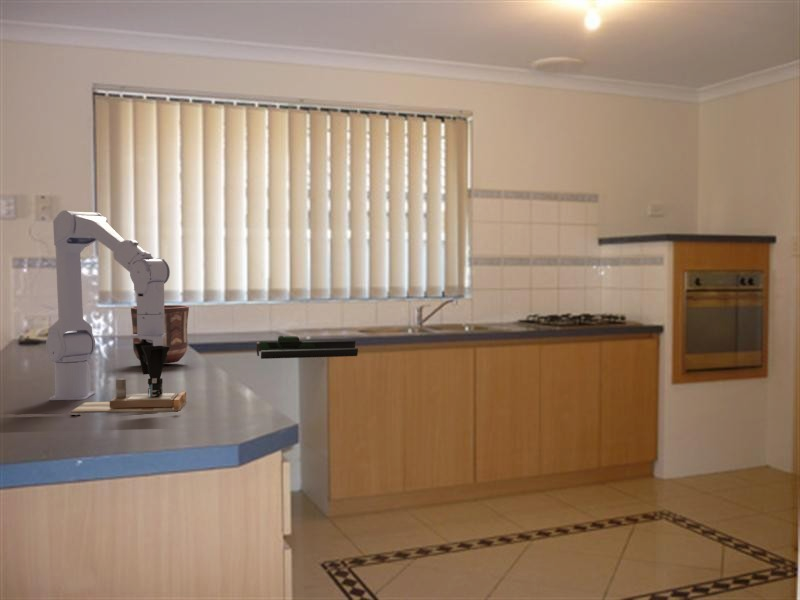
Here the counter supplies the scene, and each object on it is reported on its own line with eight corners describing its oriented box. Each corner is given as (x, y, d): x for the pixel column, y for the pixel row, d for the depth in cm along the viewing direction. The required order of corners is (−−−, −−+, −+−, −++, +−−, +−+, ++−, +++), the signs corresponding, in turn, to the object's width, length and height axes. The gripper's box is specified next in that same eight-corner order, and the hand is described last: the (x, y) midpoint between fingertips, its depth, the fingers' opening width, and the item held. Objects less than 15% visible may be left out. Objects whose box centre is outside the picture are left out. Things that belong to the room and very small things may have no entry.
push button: (165, 398, 170) (165, 352, 169) (140, 399, 169) (139, 352, 168) (169, 393, 176) (168, 348, 176) (144, 393, 175) (143, 349, 175)
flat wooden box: (85, 406, 176) (85, 393, 176) (186, 404, 179) (186, 391, 179) (70, 416, 165) (70, 401, 165) (178, 413, 168) (178, 399, 168)
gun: (360, 362, 271) (362, 343, 268) (257, 365, 263) (257, 345, 259) (357, 352, 277) (359, 333, 273) (256, 355, 269) (256, 335, 265)
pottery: (172, 365, 246) (171, 308, 245) (121, 364, 249) (120, 307, 249) (198, 359, 263) (197, 305, 262) (150, 357, 267) (149, 304, 266)
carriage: (118, 401, 176) (118, 376, 175) (178, 400, 177) (178, 375, 177) (109, 407, 168) (109, 382, 167) (172, 406, 169) (172, 381, 169)
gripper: (125, 312, 176) (126, 373, 177) (138, 316, 163) (139, 381, 164) (157, 311, 179) (158, 371, 180) (172, 315, 167) (173, 379, 167)
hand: (151, 376), depth 172 cm, fingers open, 7 cm apart
